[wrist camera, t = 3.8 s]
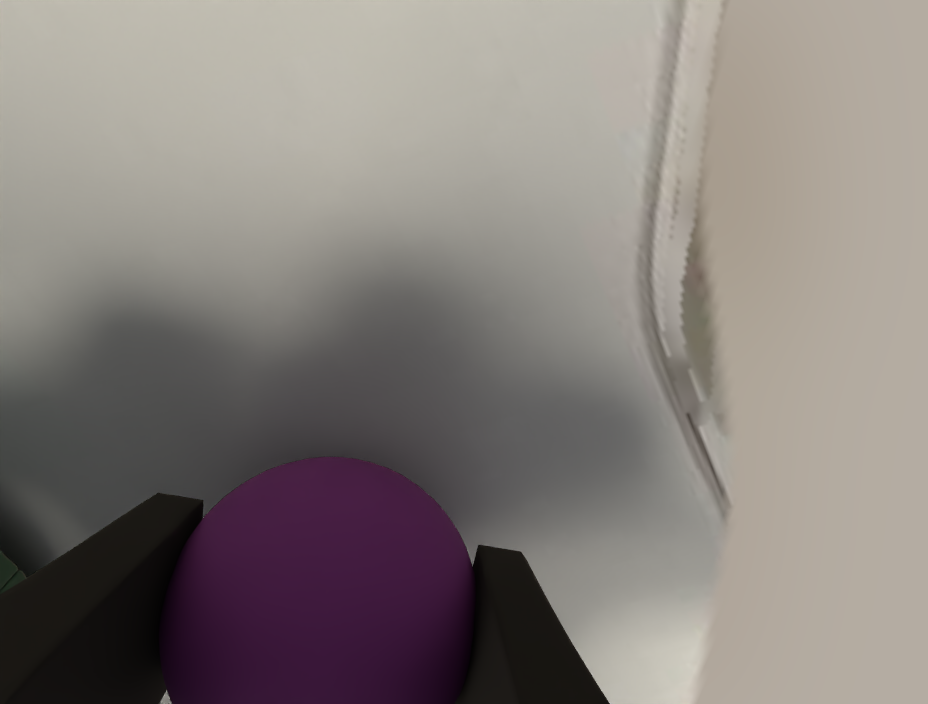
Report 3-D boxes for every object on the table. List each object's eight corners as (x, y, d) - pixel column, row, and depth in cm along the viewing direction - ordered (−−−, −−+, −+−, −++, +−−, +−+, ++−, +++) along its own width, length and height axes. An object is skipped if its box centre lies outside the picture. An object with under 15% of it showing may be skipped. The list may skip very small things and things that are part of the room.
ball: (449, 635, 12) (445, 895, 8) (212, 600, 11) (91, 852, 8) (499, 431, 10) (522, 631, 6) (231, 384, 10) (93, 564, 6)
